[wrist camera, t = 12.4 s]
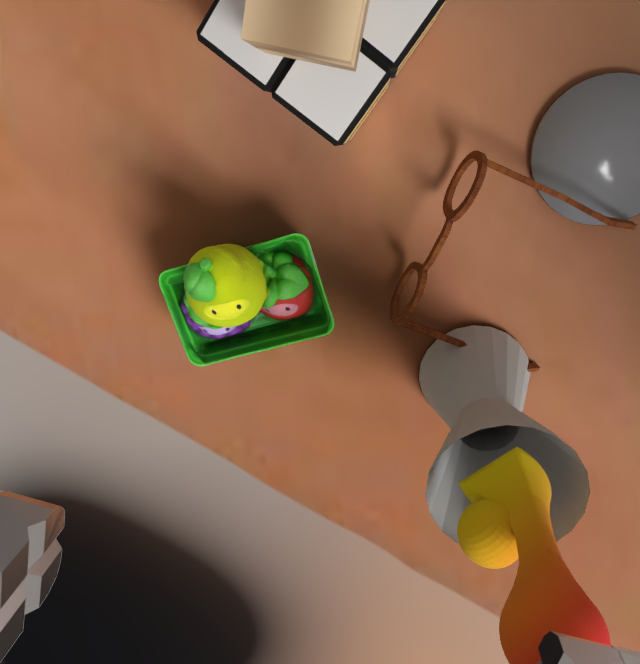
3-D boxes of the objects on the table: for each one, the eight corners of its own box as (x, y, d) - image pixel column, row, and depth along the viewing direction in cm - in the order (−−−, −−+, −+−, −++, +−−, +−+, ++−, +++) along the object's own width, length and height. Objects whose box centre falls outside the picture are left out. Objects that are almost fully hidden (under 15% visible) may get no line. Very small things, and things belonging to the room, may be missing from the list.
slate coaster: (707, 93, 40) (712, 92, 39) (645, 238, 43) (648, 240, 42) (560, 57, 40) (563, 56, 39) (510, 205, 43) (511, 206, 43)
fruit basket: (210, 346, 49) (163, 408, 39) (170, 243, 47) (109, 280, 36) (342, 311, 47) (331, 366, 37) (308, 202, 45) (286, 227, 34)
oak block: (376, -34, 30) (375, -69, 25) (355, 71, 32) (350, 61, 26) (280, -53, 31) (258, -92, 25) (265, 53, 32) (240, 38, 27)
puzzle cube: (234, 54, 42) (191, 36, 32) (317, -85, 38) (297, -150, 29) (348, 143, 43) (339, 150, 34) (438, 16, 40) (457, -16, 30)
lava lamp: (486, 300, 45) (714, 834, 13) (556, 383, 47) (905, 1027, 15) (393, 368, 48) (392, 937, 16) (462, 443, 50) (585, 1086, 18)
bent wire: (468, 144, 41) (477, 152, 37) (634, 222, 42) (663, 239, 37) (386, 304, 47) (384, 328, 42) (535, 371, 47) (549, 402, 43)
